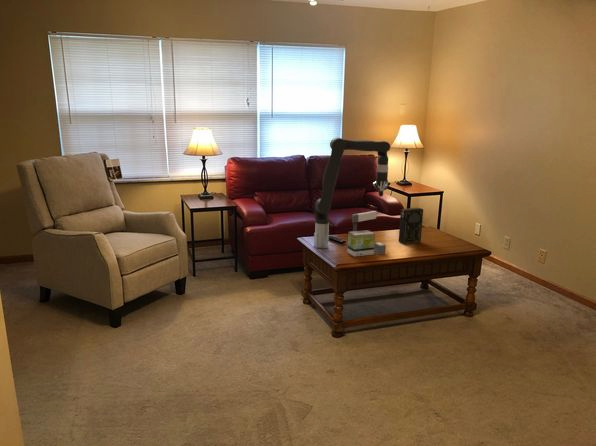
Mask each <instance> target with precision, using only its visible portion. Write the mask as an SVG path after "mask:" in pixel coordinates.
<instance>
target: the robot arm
mask: <svg viewBox="0 0 596 446" xmlns="http://www.w3.org/2000/svg"><path fill="white" fill-rule="evenodd" d="M329 146H330V147H329V148H330V149H331V152H330V153H331V154H330V156H329V160H328V162H327V164H326V166H325V169H324V172H323V176H322V191H321V192H322V193H321V197H320V198H318V199H317V200H316V201H315V203H314V219H315V225H314V228H315V229H314V231H315V232H314V233H313V247H315V249H327V248H329V237H330V236H329V234H330V232H329V231H330V230H329V228H330V218H329V212H330V211H331V209H332V202H333V196H334V191H335V187H336V184H337V181H338V176H339V171H340V168H341V167H340V166H341V160H342V158H343V155H344V152H345V151H346V150H347V151H348V150H349V151H350V150H351V151H360V152H377V165H376V166H377V167H376V177H375V181H374V182H372V185H373V186H374V188H375V190H377V191H378V196H379V197H383V196H384V191H386V190H388V188H389V186H390V185H391V182H389V180H388V176H389V156H388V152H389V151H390V150H391V144H390V143H389V142H388V141H385V140H381V141H375V140H351V139H344V138H341V137H335V138H333V139H331V140H330V142H329Z"/></svg>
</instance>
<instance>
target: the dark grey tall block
mask: <svg viewBox="0 0 596 446" xmlns="http://www.w3.org/2000/svg"><path fill="white" fill-rule="evenodd" d="M399 217H400V218H399V230H398V231H399V232H398V243H401V244H403V245H412V244H419V243H421V241H422V231H423V218H424V209H423V208H421V207H411V208H410V207H409V208H401V209H400V215H399Z"/></svg>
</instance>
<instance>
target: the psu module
mask: <svg viewBox="0 0 596 446" xmlns="http://www.w3.org/2000/svg"><path fill="white" fill-rule="evenodd" d="M386 248H387V246H386V244H385V243H382V242H380V241H376V242H375V245H374V253H375V254H377V255H386Z"/></svg>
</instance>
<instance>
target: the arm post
mask: <svg viewBox="0 0 596 446" xmlns="http://www.w3.org/2000/svg"><path fill="white" fill-rule="evenodd" d="M357 229H358V222H357V223H354V222H352V231H358V230H357Z"/></svg>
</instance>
